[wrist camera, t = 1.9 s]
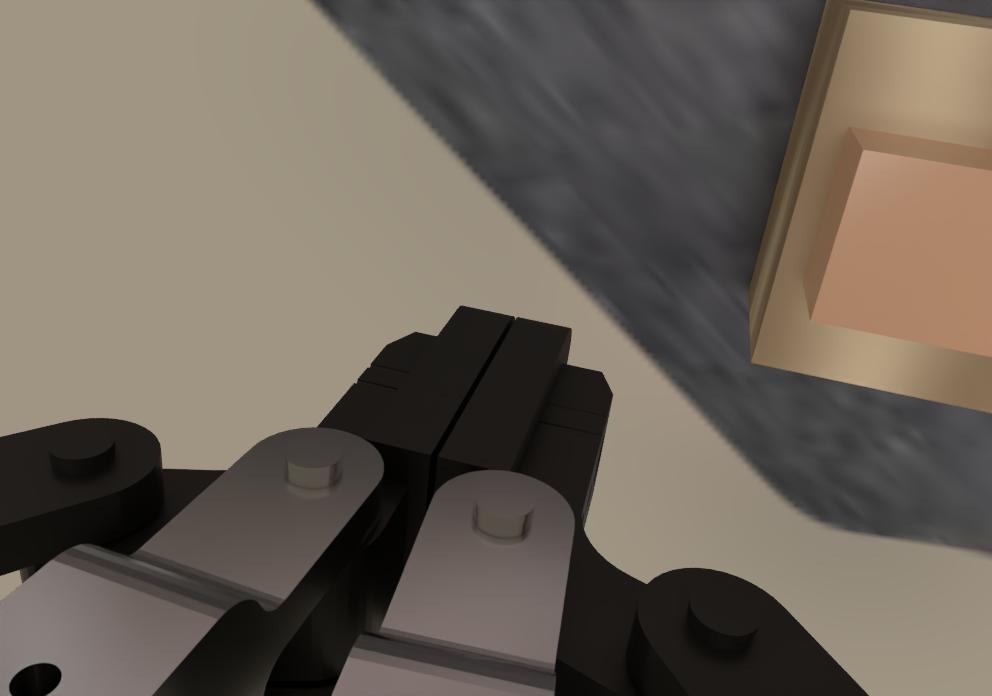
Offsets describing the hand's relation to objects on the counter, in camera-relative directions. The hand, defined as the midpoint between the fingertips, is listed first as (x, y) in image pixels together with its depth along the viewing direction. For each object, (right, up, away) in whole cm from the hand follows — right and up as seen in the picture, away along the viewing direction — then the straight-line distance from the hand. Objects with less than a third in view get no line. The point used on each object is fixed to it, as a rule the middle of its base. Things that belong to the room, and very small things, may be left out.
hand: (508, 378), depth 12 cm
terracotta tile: (+10, +3, +9) cm, 14 cm away
